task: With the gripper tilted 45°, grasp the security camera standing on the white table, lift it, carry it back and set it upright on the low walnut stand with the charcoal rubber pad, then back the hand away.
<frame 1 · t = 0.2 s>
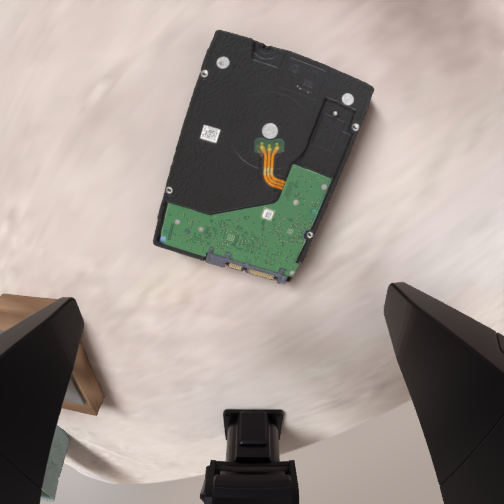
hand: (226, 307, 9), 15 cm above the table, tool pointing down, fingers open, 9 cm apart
disk drive: (257, 157, 22), on the table
green plant pot: (48, 427, 39), on the table
walnut stand: (52, 349, 30), on the table
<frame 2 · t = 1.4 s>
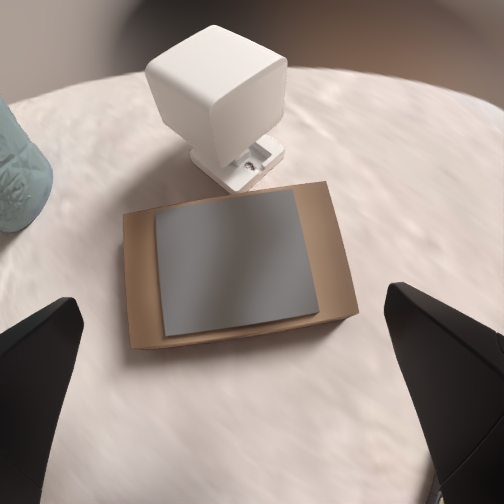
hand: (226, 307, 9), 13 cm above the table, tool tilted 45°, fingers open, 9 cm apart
green plant pot: (23, 195, 26), on the table
security camera: (231, 154, 26), on the table
walnut stand: (235, 273, 23), on the table
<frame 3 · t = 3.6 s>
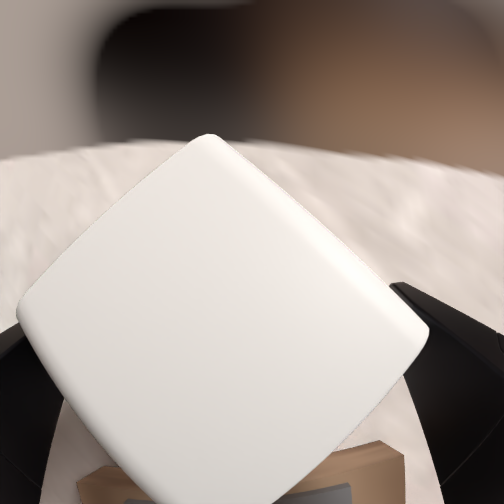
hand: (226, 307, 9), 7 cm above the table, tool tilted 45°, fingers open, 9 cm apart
security camera: (242, 356, 15), on the table
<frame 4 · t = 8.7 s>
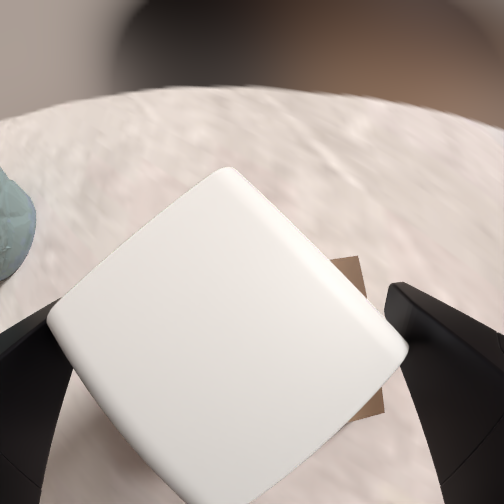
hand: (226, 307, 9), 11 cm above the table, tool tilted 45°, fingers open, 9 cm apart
green plant pot: (5, 237, 22), on the table
security camera: (241, 360, 16), point 3 cm above the table, touching gripper, walnut stand
walnut stand: (246, 356, 19), on the table
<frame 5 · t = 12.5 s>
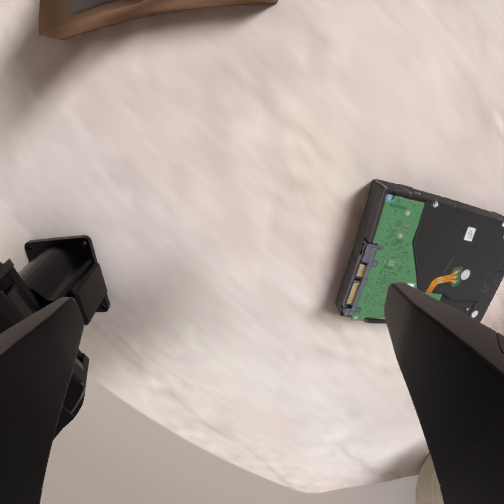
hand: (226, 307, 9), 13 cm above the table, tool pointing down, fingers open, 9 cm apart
disk drive: (429, 254, 24), on the table
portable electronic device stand: (482, 432, 40), on the table
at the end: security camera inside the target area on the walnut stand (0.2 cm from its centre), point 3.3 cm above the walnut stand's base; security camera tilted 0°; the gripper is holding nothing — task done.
